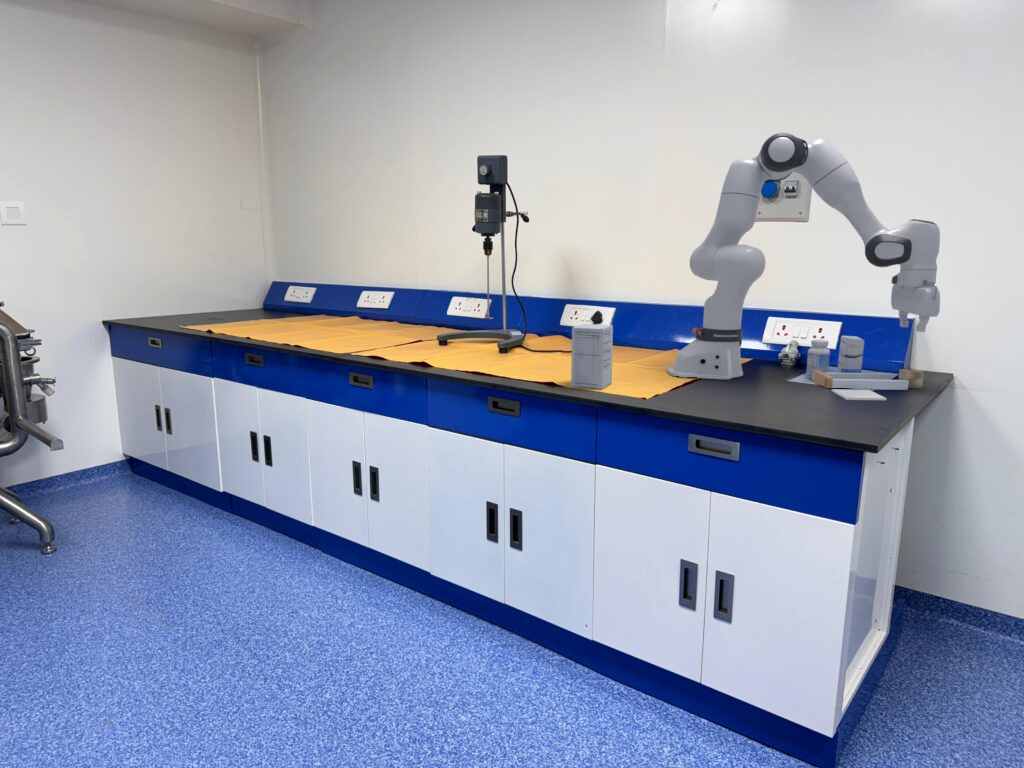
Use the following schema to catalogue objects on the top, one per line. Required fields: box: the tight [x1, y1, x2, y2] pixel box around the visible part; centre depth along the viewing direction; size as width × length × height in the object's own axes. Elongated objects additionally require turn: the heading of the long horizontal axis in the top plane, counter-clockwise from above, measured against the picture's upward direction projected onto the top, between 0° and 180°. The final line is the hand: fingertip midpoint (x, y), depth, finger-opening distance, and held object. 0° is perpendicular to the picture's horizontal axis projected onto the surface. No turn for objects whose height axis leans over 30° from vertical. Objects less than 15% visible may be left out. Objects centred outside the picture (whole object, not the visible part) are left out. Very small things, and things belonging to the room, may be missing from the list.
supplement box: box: [570, 323, 614, 390], centre depth 196 cm, size 10×9×17 cm
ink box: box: [836, 335, 865, 373], centre depth 211 cm, size 8×5×12 cm, turn 168°
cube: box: [897, 368, 925, 389], centre depth 198 cm, size 4×4×4 cm
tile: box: [831, 389, 887, 401], centre depth 186 cm, size 10×10×1 cm
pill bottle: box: [805, 339, 831, 379], centre depth 208 cm, size 6×6×11 cm
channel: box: [811, 370, 909, 391], centre depth 199 cm, size 22×11×3 cm, turn 87°
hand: (912, 329), depth 196 cm, fingers open, 8 cm apart
